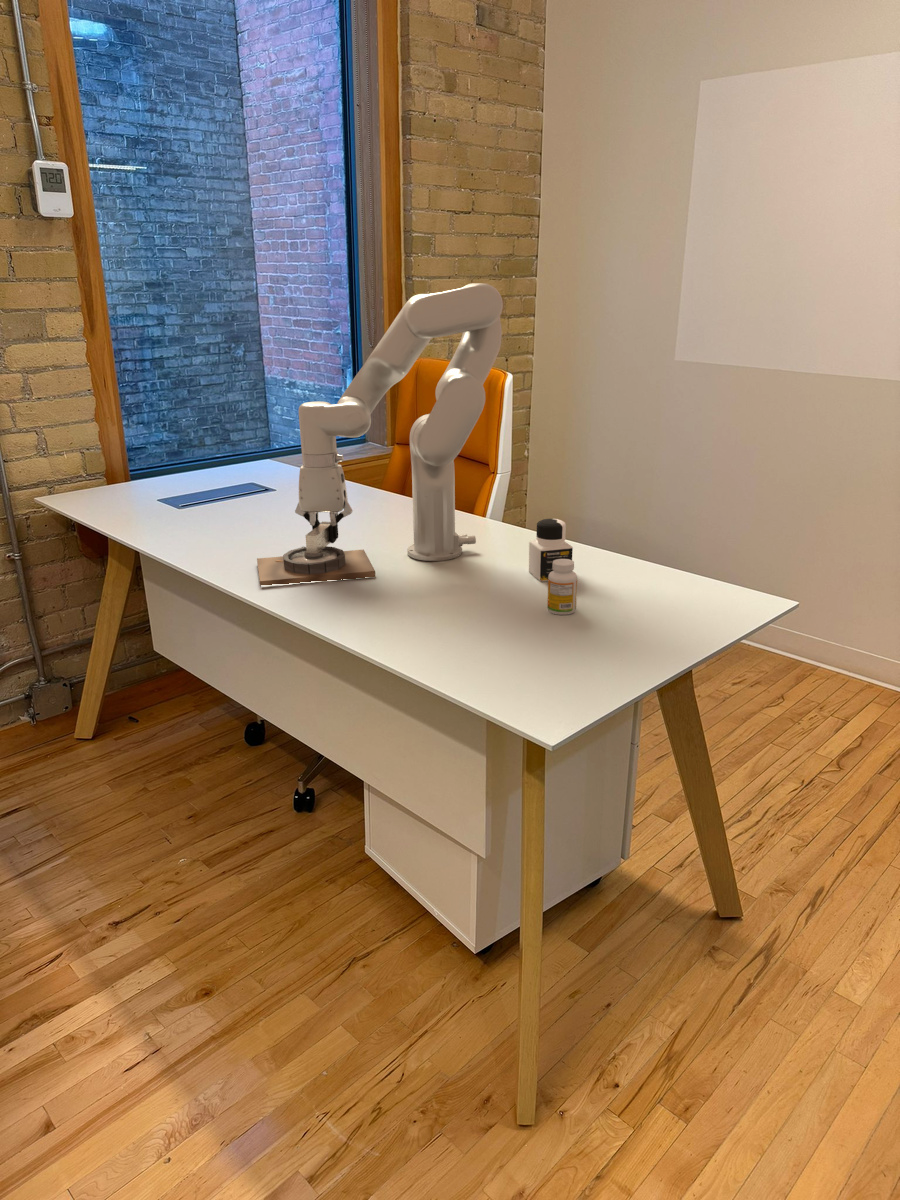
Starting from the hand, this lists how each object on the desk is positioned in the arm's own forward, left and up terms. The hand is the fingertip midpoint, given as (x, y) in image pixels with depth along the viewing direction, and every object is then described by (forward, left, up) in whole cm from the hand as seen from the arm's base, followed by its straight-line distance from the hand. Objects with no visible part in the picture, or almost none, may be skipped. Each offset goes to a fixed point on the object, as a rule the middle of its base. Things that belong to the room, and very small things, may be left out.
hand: (326, 540), depth 193 cm
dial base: (+3, +7, -5) cm, 9 cm away
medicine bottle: (-45, +24, -5) cm, 51 cm away
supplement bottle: (-40, +44, -5) cm, 59 cm away
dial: (+2, +5, -3) cm, 6 cm away
